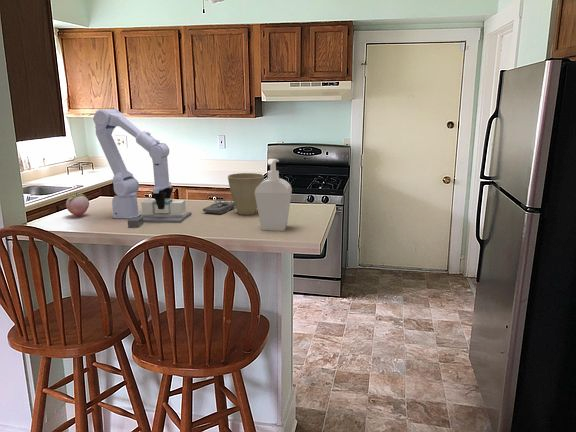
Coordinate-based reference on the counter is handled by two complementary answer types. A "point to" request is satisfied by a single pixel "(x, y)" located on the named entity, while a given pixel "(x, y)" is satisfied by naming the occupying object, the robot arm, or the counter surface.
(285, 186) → the soap bottle
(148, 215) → the mounting plate
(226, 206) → the graphics card
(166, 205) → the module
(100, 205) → the counter surface
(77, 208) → the decorative fruit
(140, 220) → the box
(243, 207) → the plant pot
